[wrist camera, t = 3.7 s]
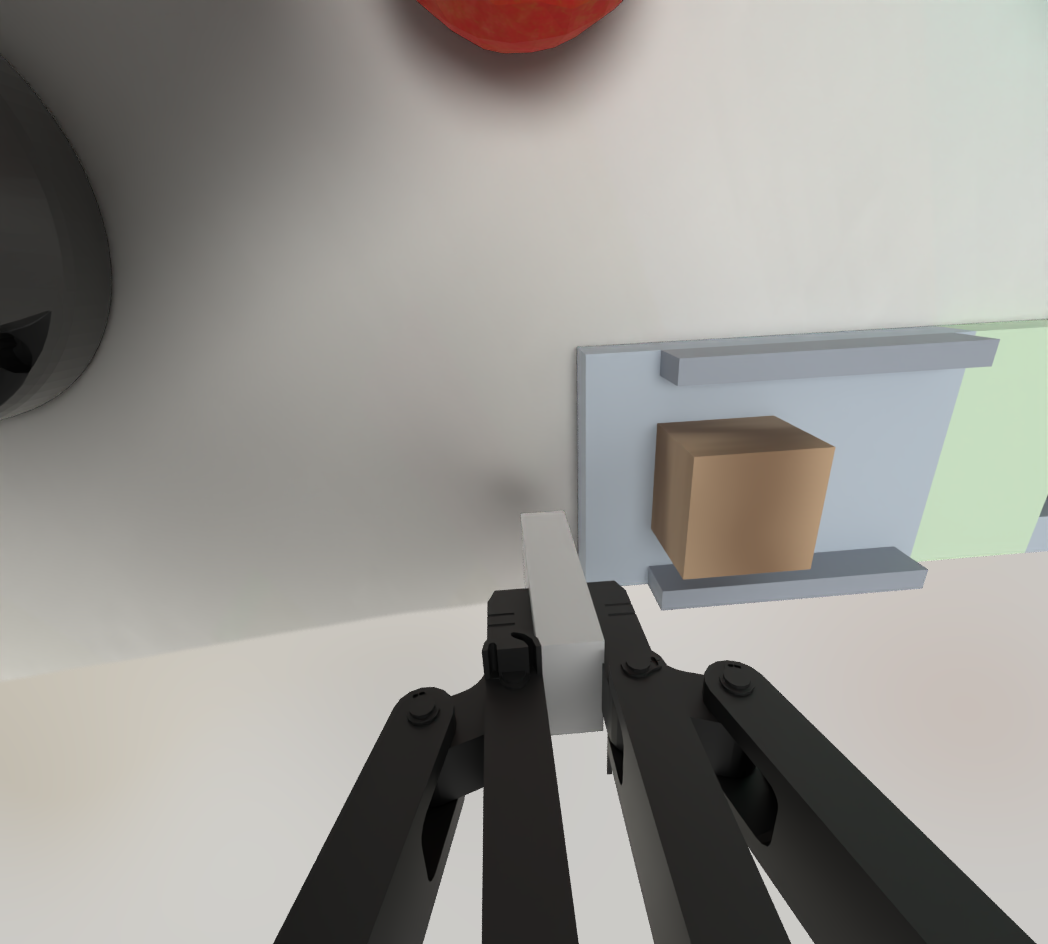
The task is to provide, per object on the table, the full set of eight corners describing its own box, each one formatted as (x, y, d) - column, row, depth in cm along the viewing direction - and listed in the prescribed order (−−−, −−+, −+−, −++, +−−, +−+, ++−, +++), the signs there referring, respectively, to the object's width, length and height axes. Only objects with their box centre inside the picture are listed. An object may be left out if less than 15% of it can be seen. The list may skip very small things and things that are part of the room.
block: (651, 528, 23) (683, 579, 19) (657, 423, 21) (694, 457, 17) (757, 520, 23) (810, 569, 19) (773, 415, 21) (835, 446, 17)
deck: (578, 565, 25) (594, 616, 22) (577, 347, 21) (596, 363, 18) (1128, 521, 27) (1230, 562, 23) (1229, 308, 23) (1374, 316, 19)
